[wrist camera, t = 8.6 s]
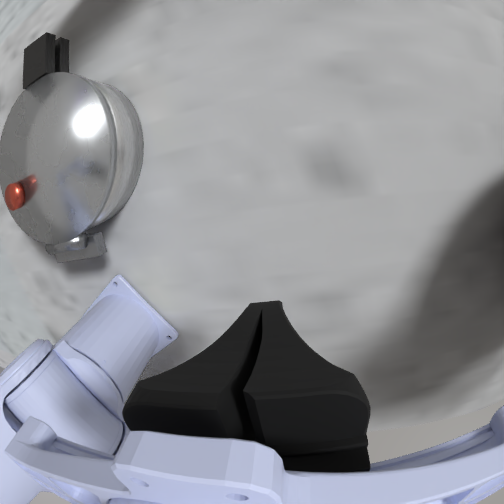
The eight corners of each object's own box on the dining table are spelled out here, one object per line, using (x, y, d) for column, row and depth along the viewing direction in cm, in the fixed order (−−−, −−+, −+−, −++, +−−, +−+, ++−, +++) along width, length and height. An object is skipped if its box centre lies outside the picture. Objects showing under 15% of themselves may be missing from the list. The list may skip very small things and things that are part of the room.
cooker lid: (139, 236, 18) (126, 245, 17) (28, 257, 20) (14, 265, 18) (107, 5, 12) (94, -3, 11) (1, 78, 14) (-13, 77, 12)
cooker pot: (162, 234, 22) (141, 251, 19) (56, 253, 24) (31, 267, 20) (131, 23, 16) (107, 7, 13) (29, 81, 18) (3, 77, 14)
